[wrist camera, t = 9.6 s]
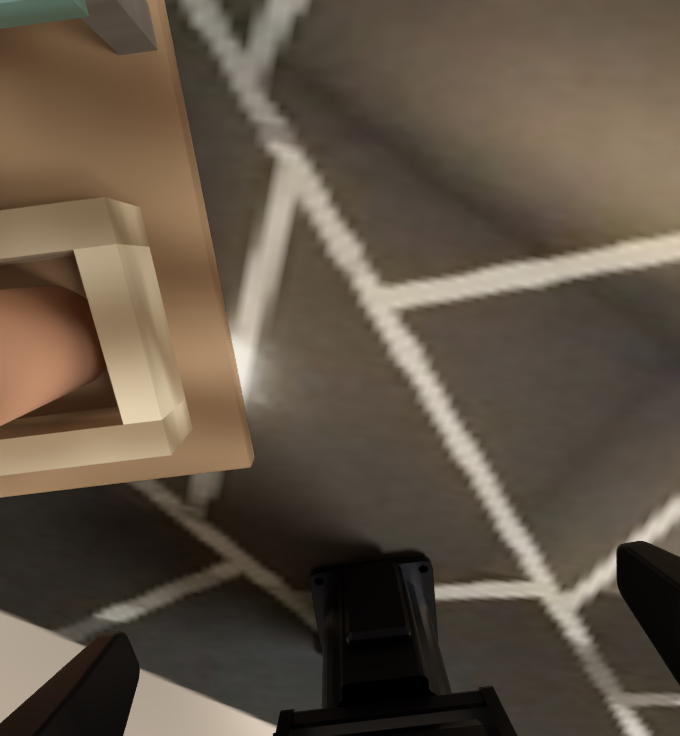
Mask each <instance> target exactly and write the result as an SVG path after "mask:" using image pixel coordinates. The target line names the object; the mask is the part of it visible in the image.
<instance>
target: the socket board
mask: <svg viewBox="0 0 680 736" xmlns="http://www.w3.org/2000/svg"><path fill="white" fill-rule="evenodd" d="M41 286H56V287H62V288H66V289H69V290H72V291H74V292H76V293H78V294H80V295H81V296H83V297H84V298H86V299H87V300H88V303H89V306H90V310H91V313H92V316H93V320H94V323H95V327H96V330H97V334H98V337H99V341H100V344H101V348H102V351H103V355H104V358H105V362H106V365H107V366H106V368H105V370H104V371H103V372H102V374H101V375H100V376H99V377H98V378H97V379H95V380H94V381H92V382H91V383H89V384H87V385H85V386H82V387H80V388H78V389H76V390H74V391H72V392H70V393H68V394H66V395H64V396H62V397H60V398H58V399H56V400H53V401H51V402H49V403H47V404H45V405H43V406H41V407H39V408H37V409H35V410H33V411H31V412H29V413H26V414H24V415H22V416H20V417H18V418H16V419H14V420H12V421H10V422H8V423H6V424H4V425H2V426H0V497H8V496H16V495H25V494H33V493H41V492H50V491H58V490H66V489H75V488H83V487H91V486H100V485H108V484H116V483H125V482H133V481H141V480H150V479H158V478H166V477H175V476H183V475H191V474H199V473H208V472H216V471H224V470H233V469H241V468H249V467H251V465H252V463H253V460H254V458H255V456H254V451H253V446H252V441H251V436H250V431H249V426H248V421H247V416H246V411H245V406H244V401H243V396H242V391H241V386H240V381H239V375H238V370H237V365H236V360H235V355H234V350H233V345H232V340H231V335H230V330H229V325H228V320H227V315H226V310H225V305H224V300H223V295H222V289H221V284H220V279H219V274H218V269H217V264H216V259H215V254H214V249H213V244H212V239H211V234H210V229H209V224H208V219H207V214H206V209H205V203H204V198H203V193H202V188H201V183H200V178H199V173H198V168H197V163H196V158H195V153H194V148H193V143H192V138H191V133H190V128H189V122H188V117H187V112H186V107H185V102H184V97H183V92H182V87H181V82H180V77H179V72H178V67H177V62H176V57H175V52H174V47H173V42H172V36H171V31H170V26H169V21H168V16H167V11H166V6H165V1H164V0H0V289H12V288H26V287H41Z"/></svg>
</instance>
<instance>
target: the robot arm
mask: <svg viewBox="0 0 680 736" xmlns="http://www.w3.org/2000/svg"><path fill="white" fill-rule="evenodd" d="M616 556H617V585H618V588H619V591H620V593H621V595H622V597H623V599H624V600H625V602H626V603H627V605H628V606H629V608H630V610H631V611H632V613H633V614H634V616H635V617H636V619H637V620H638V622H639V623H640V625H641V627H642V628H643V630H644V631H645V633H646V634H647V636H648V637H649V639H650V641H651V642H652V644H653V645H654V647H655V648H656V650H657V651H658V653H659V655H660V656H661V658H662V659H663V661H664V662H665V664H666V665H667V667H668V669H669V670H670V672H671V673H672V675H673V676H674V678H675V679H676V681H677V682H678V684H679V685H680V557H679V556H677V555H674V554H672V553H670V552H668V551H665V550H663V549H661V548H659V547H657V546H654V545H652V544H650V543H647V542H644V541H636V542H630V543H624V544H621V545H619V546H618V548H617V552H616ZM422 565H426V566H425V567H422V568H420V566H422ZM318 577H321V578H323V579H316V578H318ZM310 586H311V592H312V598H313V604H314V609H315V615H316V621H317V627H318V633H319V638H320V644H321V650H322V656H323V674H322V709H314V710H306V711H297V712H295V710H294V709H290V710H282V711H281V712H280V716H279V720H278V725H277V729H276V733H273V736H517V734H516V732H515V730H514V728H513V726H512V724H511V722H510V720H509V718H508V716H507V714H506V712H505V710H504V708H503V706H502V704H501V702H500V700H499V698H498V696H497V694H496V692H495V690H494V688H493V686H486V687H479V690H476V691H467V692H459V693H452V692H451V688H450V684H449V681H448V677H447V674H446V670H445V666H444V663H443V659H442V656H441V652H440V648H439V645H438V634H437V620H436V606H435V592H434V579H433V567H432V564H431V561H430V559H429V558H428V557H426V556H415V557H407V558H398V559H389V560H381V561H372V562H364V563H355V564H347V565H338V566H329V567H321V568H316V569H314V570H312V572H311V573H310ZM139 673H140V668H139V663H138V660H137V657H136V655H135V653H134V650H133V648H132V646H131V643H130V641H129V639H128V636H127V635H126V634H125V633H124V632H121V631H118V632H112V633H107V634H103V635H100V636H98V637H97V638H96V639H94V640H93V641H92V642H91V643H90V644H89V645H88V646H87V647H85V648H84V649H83V650H82V651H81V652H80V653H79V654H78V655H76V656H75V657H74V658H73V659H72V660H71V661H70V662H69V663H67V664H66V665H65V666H64V667H63V668H62V669H61V670H60V671H59V672H57V673H56V674H55V675H54V676H53V677H52V678H51V679H50V680H48V681H47V682H46V683H45V684H44V685H43V686H42V687H41V688H39V689H38V690H37V691H36V692H35V693H34V694H33V695H32V696H30V698H28V699H27V700H26V701H25V702H24V703H23V704H21V706H19V707H18V708H17V709H16V710H15V711H14V712H12V713H11V714H10V715H9V716H8V717H7V718H6V719H5V720H3V721H2V722H1V723H0V736H123V734H124V731H125V727H126V724H127V720H128V716H129V713H130V709H131V705H132V702H133V698H134V694H135V691H136V687H137V684H138V680H139Z"/></svg>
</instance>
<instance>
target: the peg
mask: <svg viewBox="0 0 680 736" xmlns="http://www.w3.org/2000/svg"><path fill="white" fill-rule="evenodd" d="M106 366H107V365H106V362H105V358H104V355H103V351H102V348H101V344H100V341H99V337H98V334H97V330H96V327H95V323H94V320H93V316H92V313H91V310H90V306H89V303H88V300H87V299H86V298H84V297H83V296H81V295H80V294H78V293H76V292H74V291H72V290H69V289H66V288H62V287H56V286H41V287H26V288H12V289H0V426H2V425H4V424H6V423H8V422H10V421H12V420H14V419H16V418H18V417H20V416H22V415H24V414H26V413H29V412H31V411H33V410H35V409H37V408H39V407H41V406H43V405H45V404H47V403H49V402H51V401H53V400H56V399H58V398H60V397H62V396H64V395H66V394H68V393H70V392H72V391H74V390H76V389H78V388H80V387H82V386H85V385H87V384H89V383H91V382H92V381H94V380H95V379H97V378H98V377H99V376H100V375H101V374H102V372H103V371H104V370H105V368H106Z"/></svg>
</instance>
